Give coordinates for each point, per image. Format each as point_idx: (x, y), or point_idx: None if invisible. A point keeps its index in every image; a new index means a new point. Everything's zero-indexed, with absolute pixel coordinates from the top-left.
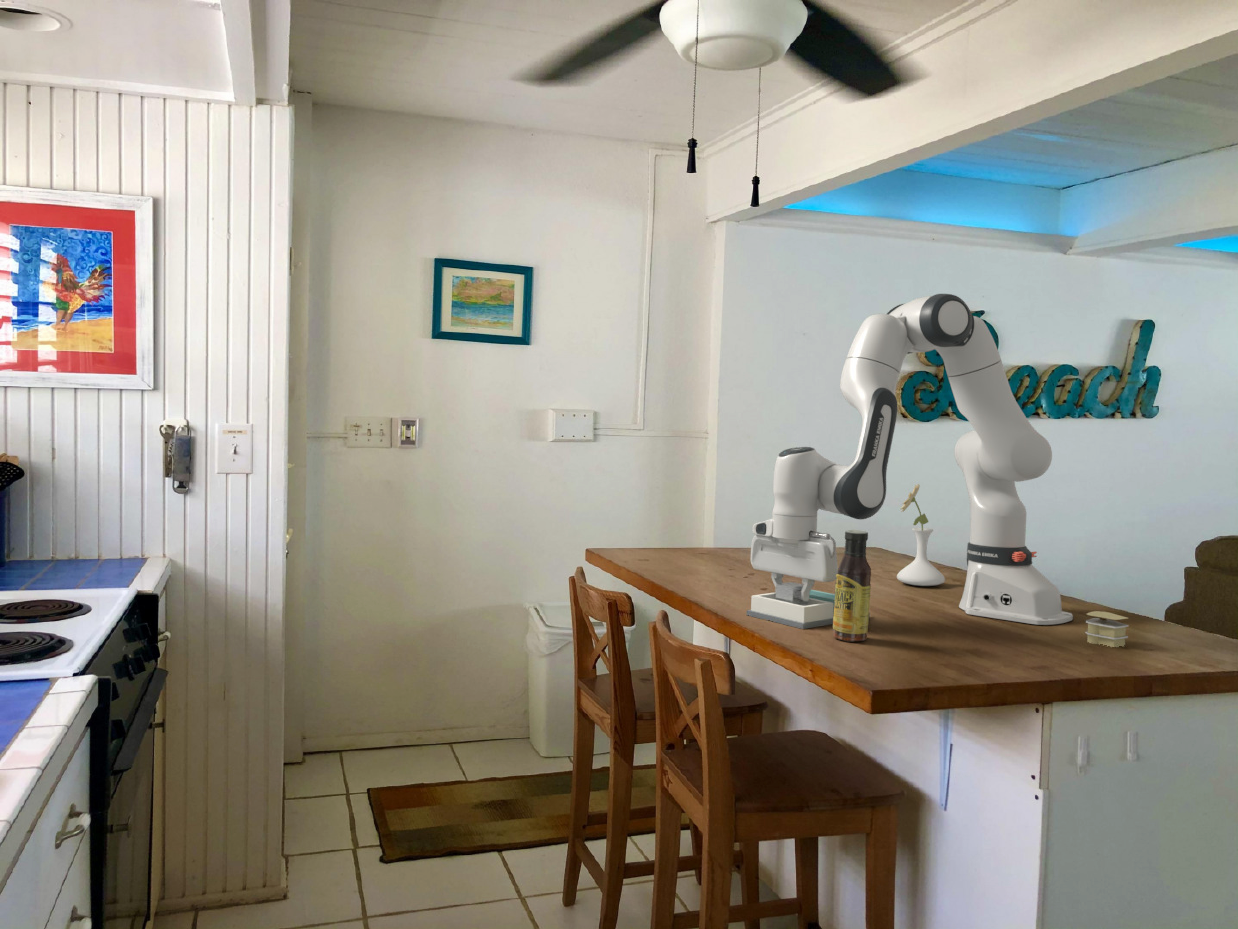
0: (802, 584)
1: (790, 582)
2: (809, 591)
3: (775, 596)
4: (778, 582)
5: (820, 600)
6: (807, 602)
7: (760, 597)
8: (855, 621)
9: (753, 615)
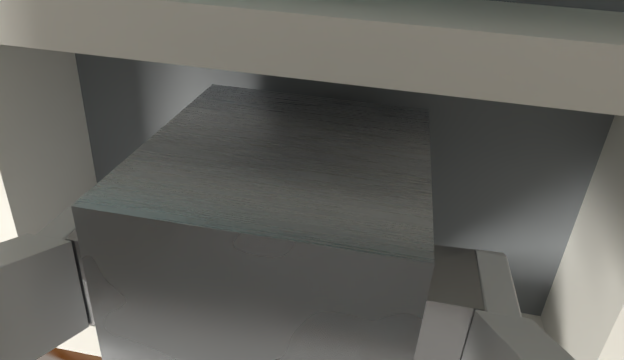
0: (321, 268)
1: (100, 250)
2: (530, 329)
3: (6, 107)
4: (27, 328)
5: (571, 57)
6: (428, 147)
7: (100, 354)
8: None
9: None
